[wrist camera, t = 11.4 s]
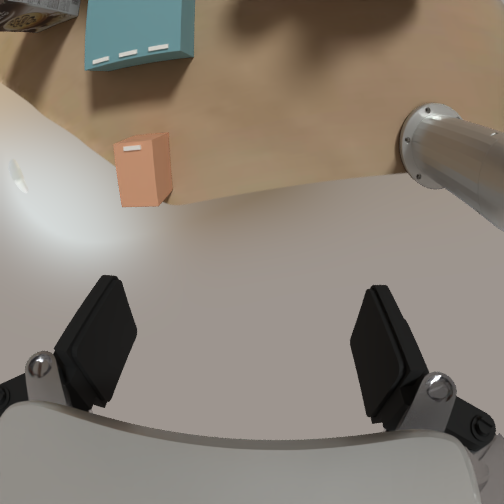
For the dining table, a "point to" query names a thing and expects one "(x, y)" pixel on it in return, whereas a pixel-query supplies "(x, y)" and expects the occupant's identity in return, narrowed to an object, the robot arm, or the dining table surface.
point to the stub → (143, 169)
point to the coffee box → (35, 14)
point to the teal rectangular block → (137, 32)
